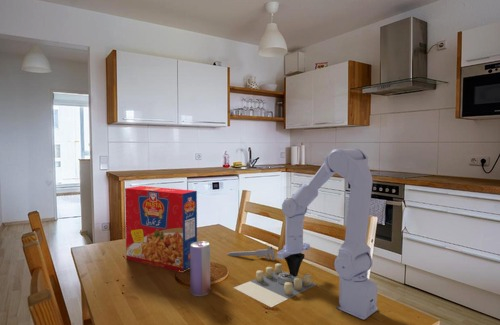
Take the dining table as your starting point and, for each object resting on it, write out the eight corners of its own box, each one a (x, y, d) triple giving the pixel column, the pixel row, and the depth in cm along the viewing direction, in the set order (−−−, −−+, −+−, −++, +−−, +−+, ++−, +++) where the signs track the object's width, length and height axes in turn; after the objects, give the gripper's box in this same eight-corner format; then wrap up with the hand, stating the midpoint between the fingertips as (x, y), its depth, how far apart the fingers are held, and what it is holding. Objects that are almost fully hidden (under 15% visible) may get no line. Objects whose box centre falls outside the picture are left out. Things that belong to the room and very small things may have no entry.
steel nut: (295, 282, 103) (295, 276, 103) (286, 286, 100) (286, 279, 100) (283, 277, 106) (283, 271, 106) (274, 281, 104) (274, 275, 103)
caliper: (274, 262, 123) (275, 246, 123) (273, 263, 122) (274, 247, 122) (227, 255, 132) (227, 240, 131) (226, 255, 131) (226, 240, 130)
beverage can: (191, 298, 94) (191, 247, 93) (189, 289, 100) (189, 241, 99) (211, 295, 96) (211, 246, 95) (208, 287, 102) (208, 240, 101)
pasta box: (126, 259, 125) (125, 188, 124) (141, 253, 133) (140, 185, 131) (183, 272, 113) (182, 193, 111) (197, 265, 120) (196, 190, 118)
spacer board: (316, 287, 101) (317, 275, 101) (271, 310, 87) (271, 296, 87) (279, 272, 113) (279, 261, 113) (233, 290, 99) (233, 278, 99)
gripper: (298, 228, 113) (298, 266, 114) (270, 236, 103) (269, 277, 104) (315, 232, 108) (314, 272, 109) (286, 241, 98) (286, 284, 99)
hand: (293, 275), depth 106 cm, fingers closed
